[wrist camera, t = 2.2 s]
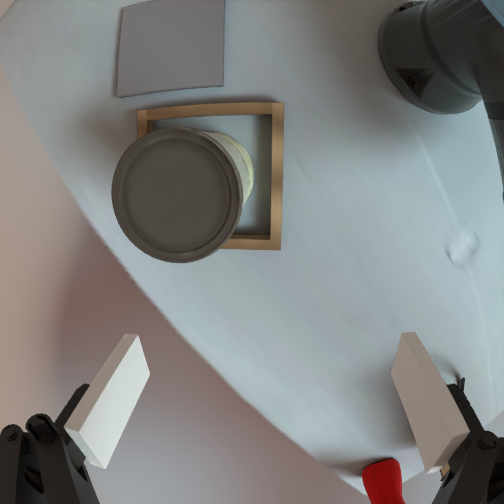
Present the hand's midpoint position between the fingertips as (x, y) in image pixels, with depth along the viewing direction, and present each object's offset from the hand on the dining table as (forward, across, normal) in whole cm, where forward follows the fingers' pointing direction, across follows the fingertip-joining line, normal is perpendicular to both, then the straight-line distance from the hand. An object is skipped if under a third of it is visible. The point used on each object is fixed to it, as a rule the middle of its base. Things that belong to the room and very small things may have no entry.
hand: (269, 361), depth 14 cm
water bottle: (+24, +26, -59) cm, 69 cm away
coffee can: (+24, -7, +6) cm, 26 cm away
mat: (+24, -11, +24) cm, 35 cm away
